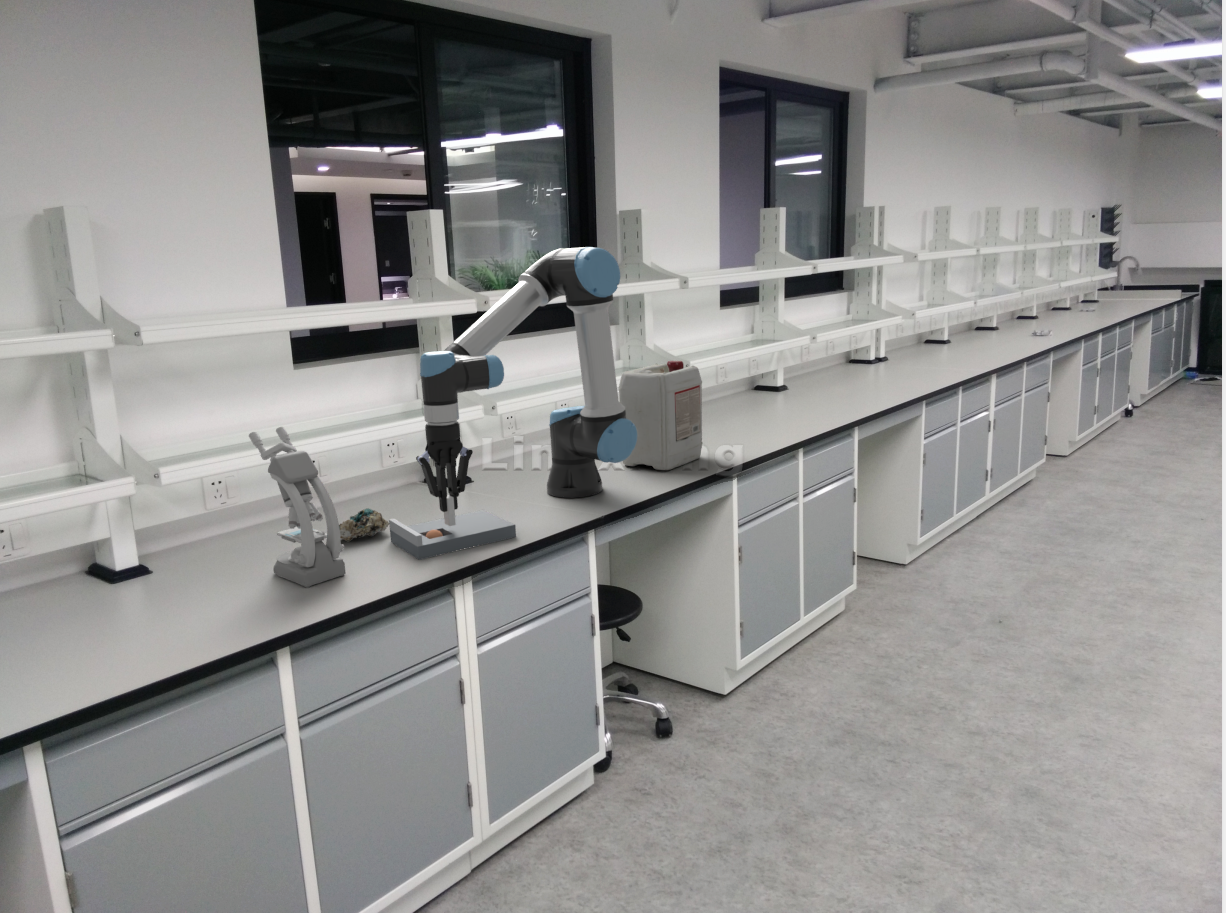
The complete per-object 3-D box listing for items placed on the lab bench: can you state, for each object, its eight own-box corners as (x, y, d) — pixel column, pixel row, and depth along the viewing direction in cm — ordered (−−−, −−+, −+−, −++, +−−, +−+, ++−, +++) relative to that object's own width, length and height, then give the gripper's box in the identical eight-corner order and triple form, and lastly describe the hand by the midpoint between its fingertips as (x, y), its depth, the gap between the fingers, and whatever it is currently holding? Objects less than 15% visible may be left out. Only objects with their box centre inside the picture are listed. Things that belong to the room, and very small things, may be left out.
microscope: (304, 557, 199) (288, 424, 192) (353, 575, 187) (337, 433, 180) (258, 571, 191) (239, 433, 184) (305, 590, 179) (287, 443, 172)
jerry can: (657, 451, 289) (655, 358, 282) (708, 457, 278) (707, 360, 272) (614, 467, 270) (610, 368, 263) (667, 474, 259) (665, 371, 253)
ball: (442, 536, 205) (432, 524, 204) (449, 540, 202) (439, 528, 200) (429, 548, 204) (419, 536, 202) (436, 552, 201) (426, 540, 199)
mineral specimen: (377, 524, 219) (362, 496, 216) (397, 527, 212) (382, 499, 209) (336, 553, 211) (320, 525, 208) (356, 558, 205) (340, 529, 202)
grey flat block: (484, 521, 220) (483, 500, 219) (516, 536, 208) (514, 514, 206) (391, 541, 207) (388, 519, 206) (418, 559, 194) (416, 536, 193)
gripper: (461, 416, 205) (468, 515, 211) (407, 423, 198) (416, 526, 203) (476, 420, 199) (483, 522, 205) (421, 428, 192) (430, 533, 197)
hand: (450, 524), depth 204 cm, fingers closed
